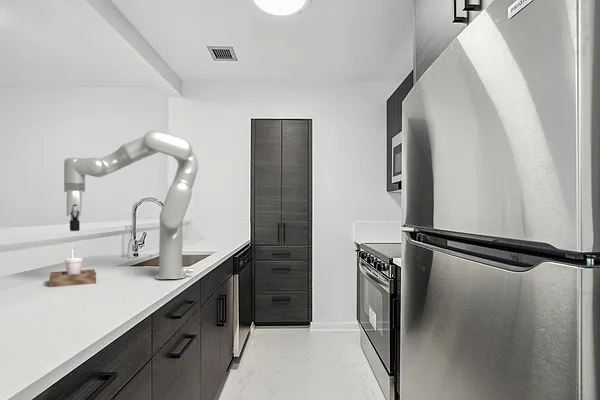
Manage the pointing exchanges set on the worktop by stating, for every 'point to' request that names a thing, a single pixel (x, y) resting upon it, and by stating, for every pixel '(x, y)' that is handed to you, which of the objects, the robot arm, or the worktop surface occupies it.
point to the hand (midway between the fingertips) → (74, 230)
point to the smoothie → (73, 265)
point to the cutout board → (72, 278)
